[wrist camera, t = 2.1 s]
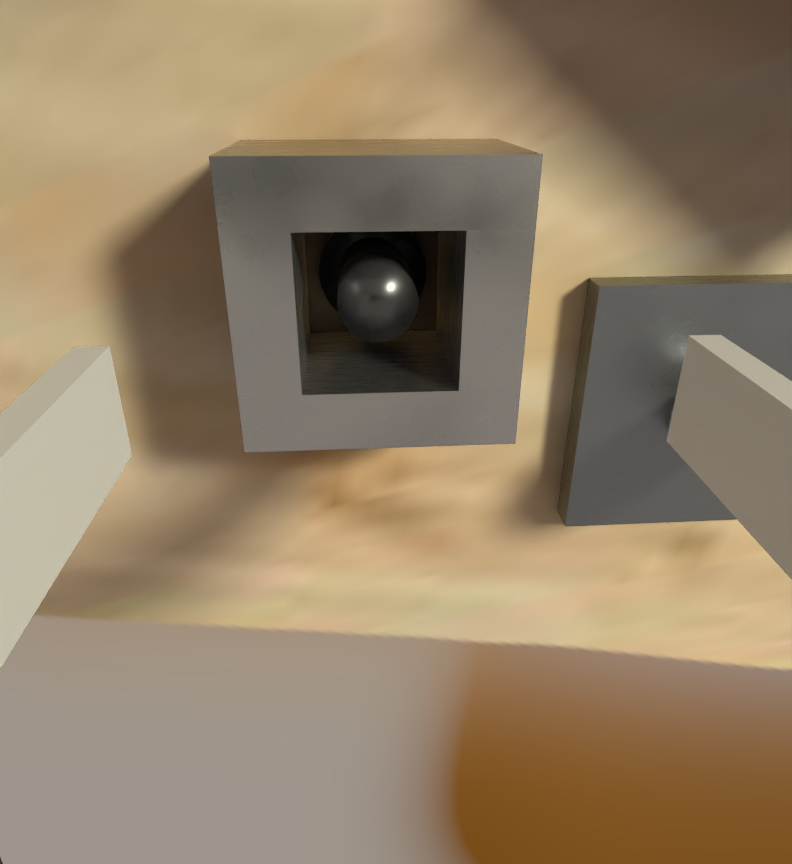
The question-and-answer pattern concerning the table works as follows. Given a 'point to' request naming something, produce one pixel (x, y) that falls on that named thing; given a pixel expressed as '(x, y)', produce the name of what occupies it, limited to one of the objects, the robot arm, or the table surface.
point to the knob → (373, 281)
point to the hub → (655, 389)
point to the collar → (413, 350)
